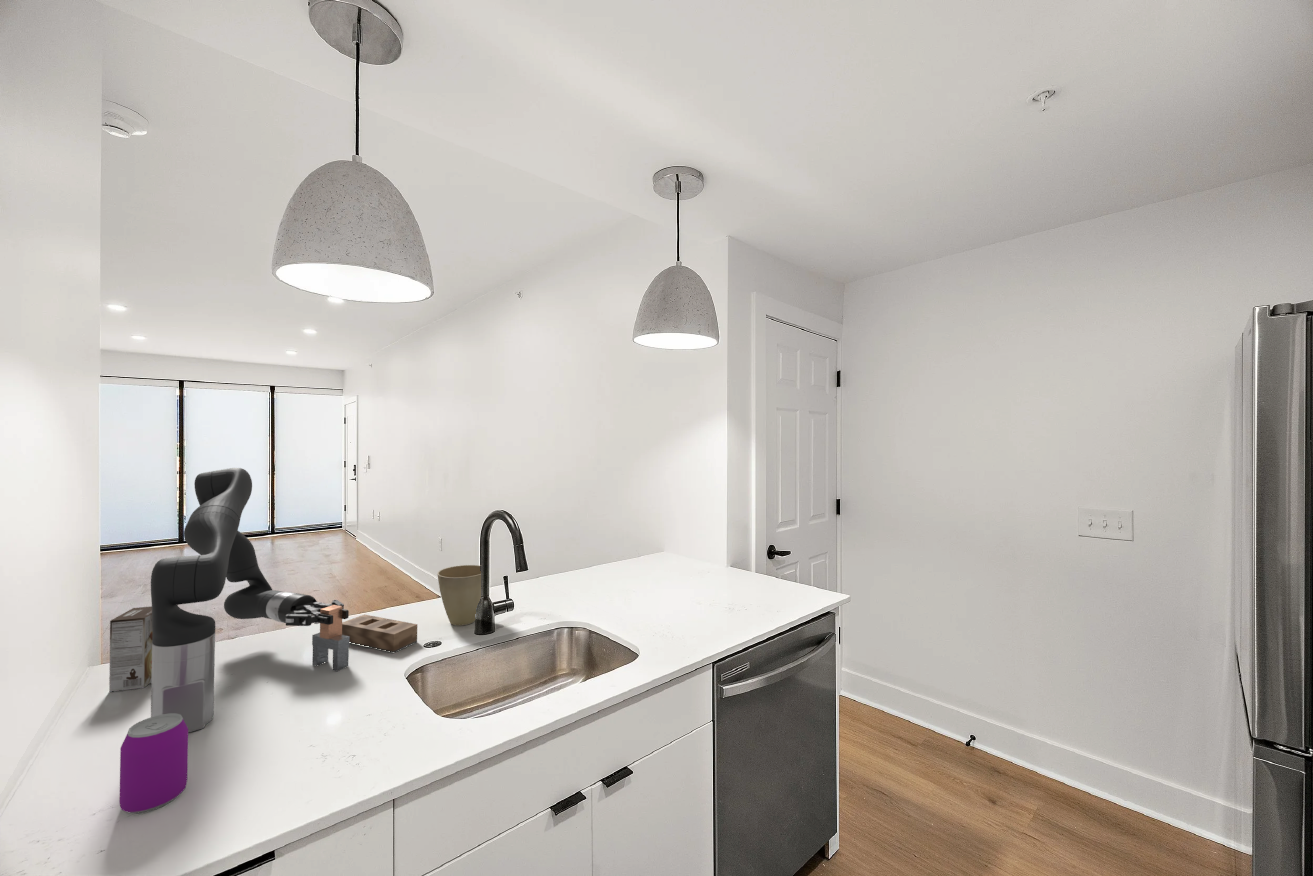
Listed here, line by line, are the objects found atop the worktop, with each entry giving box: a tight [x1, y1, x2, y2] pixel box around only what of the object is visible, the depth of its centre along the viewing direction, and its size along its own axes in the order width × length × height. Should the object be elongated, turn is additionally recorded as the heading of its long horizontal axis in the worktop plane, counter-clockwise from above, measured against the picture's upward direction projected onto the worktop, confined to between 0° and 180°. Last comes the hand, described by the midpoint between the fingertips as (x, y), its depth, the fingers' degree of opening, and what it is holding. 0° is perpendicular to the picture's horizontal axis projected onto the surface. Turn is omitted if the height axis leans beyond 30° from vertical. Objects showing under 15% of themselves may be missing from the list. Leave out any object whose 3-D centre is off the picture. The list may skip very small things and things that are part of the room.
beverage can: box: [118, 713, 189, 815], centre depth 81 cm, size 8×8×12 cm
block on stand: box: [311, 605, 350, 672], centre depth 129 cm, size 9×4×14 cm, turn 70°
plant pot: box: [436, 564, 481, 627], centre depth 161 cm, size 15×15×16 cm
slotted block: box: [341, 614, 418, 653], centre depth 144 cm, size 20×8×5 cm, turn 70°
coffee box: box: [108, 605, 152, 693], centre depth 119 cm, size 9×6×16 cm
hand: (339, 617), depth 128 cm, fingers closed on block on stand, 3 cm apart
